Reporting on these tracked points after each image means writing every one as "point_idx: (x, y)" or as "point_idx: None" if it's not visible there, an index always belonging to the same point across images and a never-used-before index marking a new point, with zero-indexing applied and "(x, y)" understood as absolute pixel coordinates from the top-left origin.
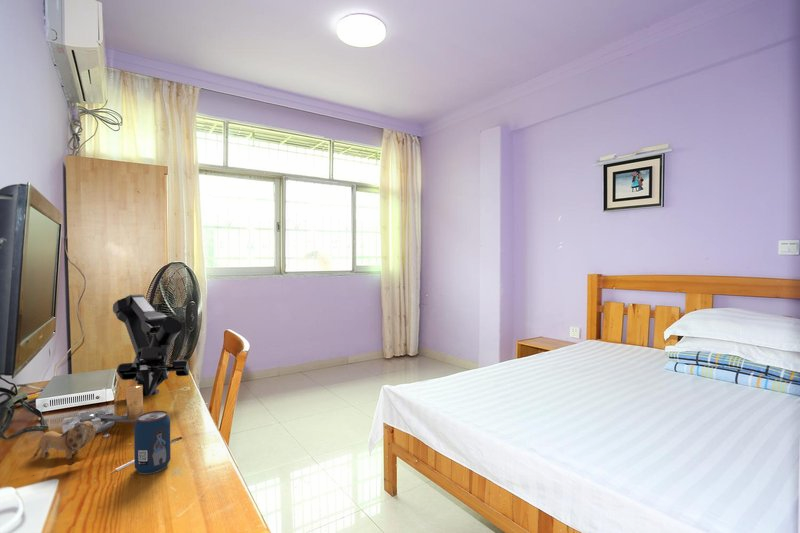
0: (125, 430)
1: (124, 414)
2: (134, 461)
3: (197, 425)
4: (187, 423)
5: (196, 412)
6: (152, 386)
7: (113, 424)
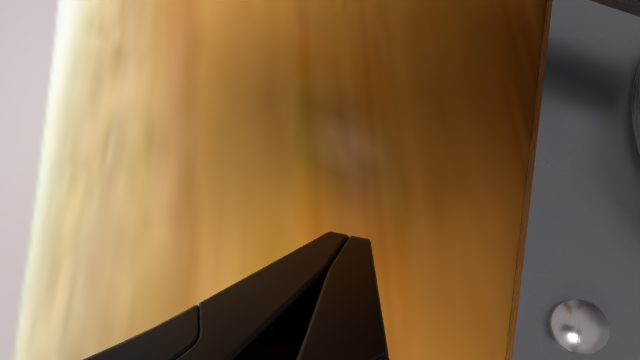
0: (514, 91)
1: (605, 337)
2: None
3: (109, 13)
4: (148, 61)
5: (66, 238)
6: (260, 277)
7: (632, 110)
